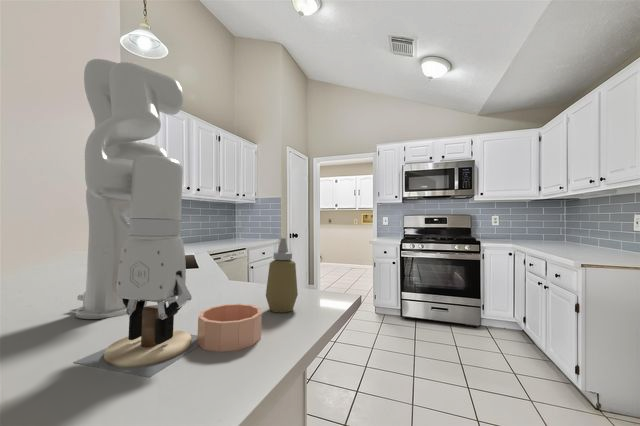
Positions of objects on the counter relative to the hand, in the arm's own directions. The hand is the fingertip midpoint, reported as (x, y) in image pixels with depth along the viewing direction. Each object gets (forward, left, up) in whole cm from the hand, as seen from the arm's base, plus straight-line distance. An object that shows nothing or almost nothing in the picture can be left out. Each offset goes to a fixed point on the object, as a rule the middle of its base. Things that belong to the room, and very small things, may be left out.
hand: (151, 337), depth 47 cm
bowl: (+10, +8, -2) cm, 13 cm away
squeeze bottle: (+12, +28, -2) cm, 31 cm away
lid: (0, 0, -2) cm, 2 cm away
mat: (0, 0, -2) cm, 2 cm away
